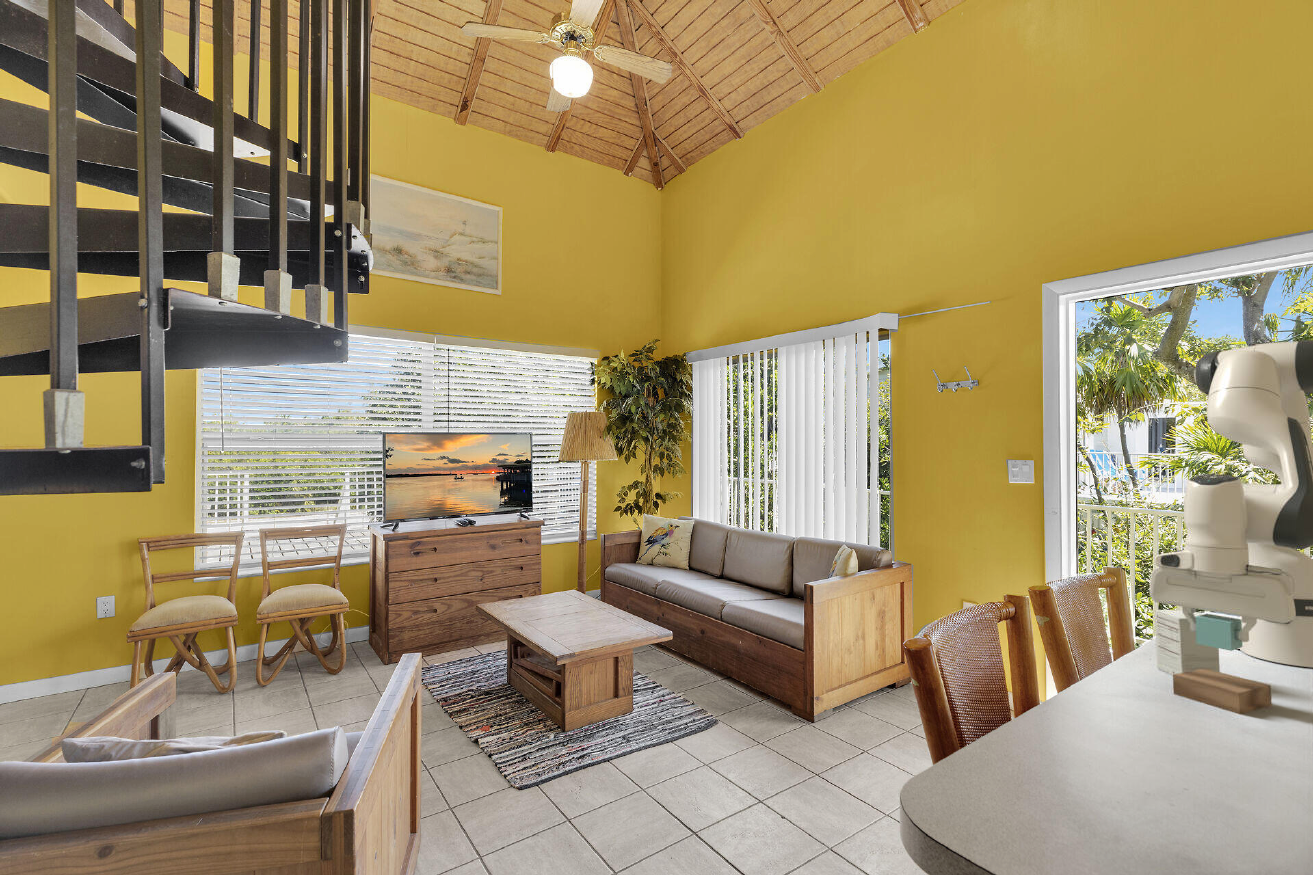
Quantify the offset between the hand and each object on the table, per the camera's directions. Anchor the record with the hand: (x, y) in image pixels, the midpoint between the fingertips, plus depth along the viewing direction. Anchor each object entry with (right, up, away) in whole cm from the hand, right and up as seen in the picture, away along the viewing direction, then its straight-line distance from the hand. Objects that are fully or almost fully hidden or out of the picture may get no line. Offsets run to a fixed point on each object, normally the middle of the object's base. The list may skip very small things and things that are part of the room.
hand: (1218, 636), depth 114 cm
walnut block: (0, -12, 0) cm, 12 cm away
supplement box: (+5, -12, +13) cm, 19 cm away
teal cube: (0, -2, 0) cm, 2 cm away
